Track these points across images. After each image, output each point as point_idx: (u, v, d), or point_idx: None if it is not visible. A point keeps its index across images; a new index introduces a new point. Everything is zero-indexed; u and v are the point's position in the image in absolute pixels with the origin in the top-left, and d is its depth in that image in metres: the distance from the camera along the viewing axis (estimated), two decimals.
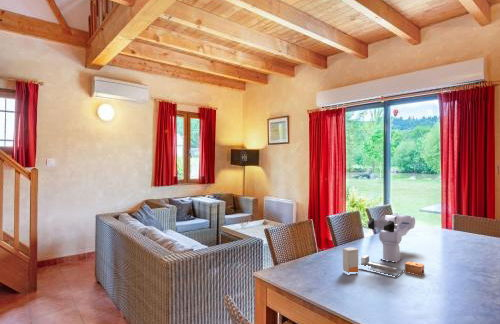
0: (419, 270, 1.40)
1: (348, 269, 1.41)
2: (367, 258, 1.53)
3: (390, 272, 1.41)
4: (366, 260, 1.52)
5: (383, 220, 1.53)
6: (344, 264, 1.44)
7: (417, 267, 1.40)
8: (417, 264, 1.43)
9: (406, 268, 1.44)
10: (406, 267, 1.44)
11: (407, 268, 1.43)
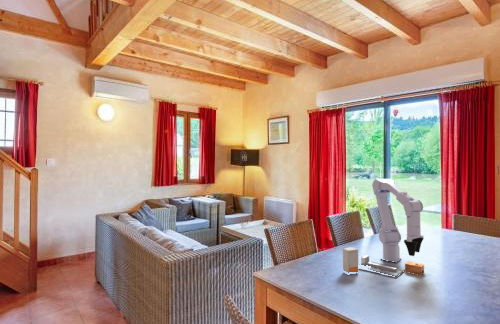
0: (419, 270, 1.40)
1: (348, 269, 1.41)
2: (367, 258, 1.53)
3: (390, 272, 1.41)
4: (366, 260, 1.52)
5: None
6: (344, 264, 1.44)
7: (417, 267, 1.40)
8: (417, 264, 1.43)
9: (406, 268, 1.44)
10: (406, 267, 1.44)
11: (407, 268, 1.43)
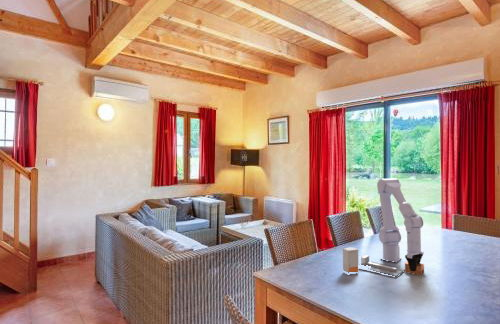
0: (419, 270, 1.40)
1: (348, 269, 1.41)
2: (367, 258, 1.53)
3: (390, 272, 1.41)
4: (366, 260, 1.52)
5: None
6: (344, 264, 1.44)
7: (417, 267, 1.40)
8: (417, 264, 1.43)
9: (406, 268, 1.44)
10: (406, 267, 1.44)
11: (407, 268, 1.43)
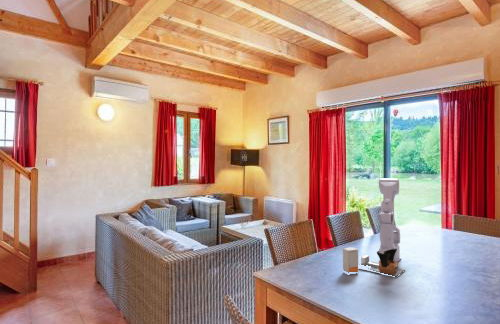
0: (392, 267, 1.42)
1: (348, 269, 1.41)
2: (367, 258, 1.53)
3: (390, 272, 1.41)
4: (366, 260, 1.52)
5: None
6: (344, 264, 1.44)
7: (390, 264, 1.42)
8: (390, 261, 1.44)
9: (380, 265, 1.46)
10: (380, 264, 1.46)
11: (381, 265, 1.45)
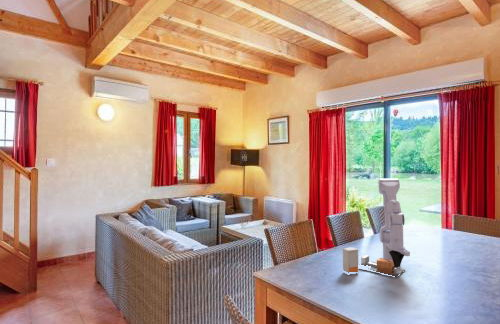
0: (390, 266, 1.42)
1: (348, 269, 1.41)
2: (367, 258, 1.53)
3: (390, 272, 1.41)
4: (366, 260, 1.52)
5: None
6: (344, 264, 1.44)
7: (388, 263, 1.43)
8: (388, 260, 1.45)
9: (378, 264, 1.46)
10: (378, 264, 1.46)
11: (379, 264, 1.46)
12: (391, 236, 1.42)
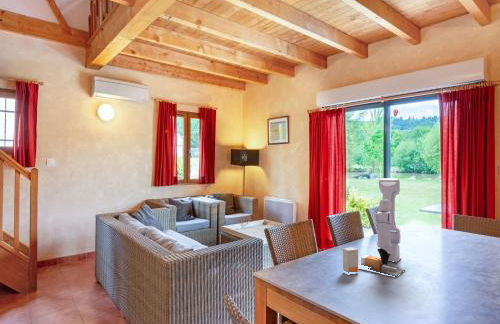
0: (377, 264, 1.46)
1: (348, 269, 1.41)
2: None
3: (390, 272, 1.41)
4: None
5: None
6: (344, 264, 1.44)
7: (376, 261, 1.47)
8: (376, 258, 1.49)
9: (366, 262, 1.50)
10: (366, 261, 1.50)
11: (367, 262, 1.50)
12: (378, 234, 1.47)
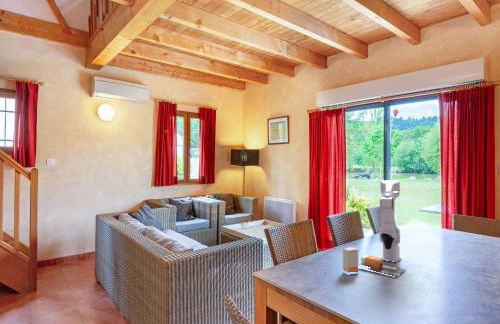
0: (377, 264, 1.46)
1: (348, 269, 1.41)
2: None
3: (390, 272, 1.41)
4: None
5: None
6: (344, 264, 1.44)
7: (376, 261, 1.47)
8: (376, 258, 1.49)
9: (366, 262, 1.50)
10: (366, 261, 1.50)
11: (367, 262, 1.50)
12: (381, 219, 1.49)
